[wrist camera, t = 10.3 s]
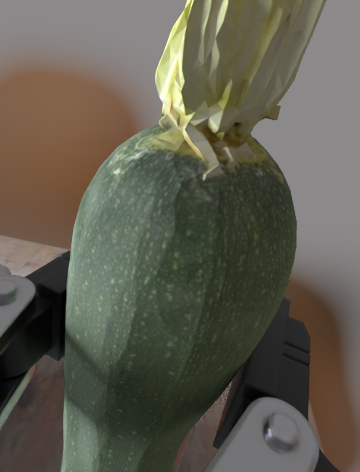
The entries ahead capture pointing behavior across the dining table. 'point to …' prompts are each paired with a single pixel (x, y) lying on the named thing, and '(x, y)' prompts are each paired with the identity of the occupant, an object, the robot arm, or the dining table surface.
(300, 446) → the robot arm
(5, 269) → the garlic
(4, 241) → the dining table surface
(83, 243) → the vegetable
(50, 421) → the dining table surface
